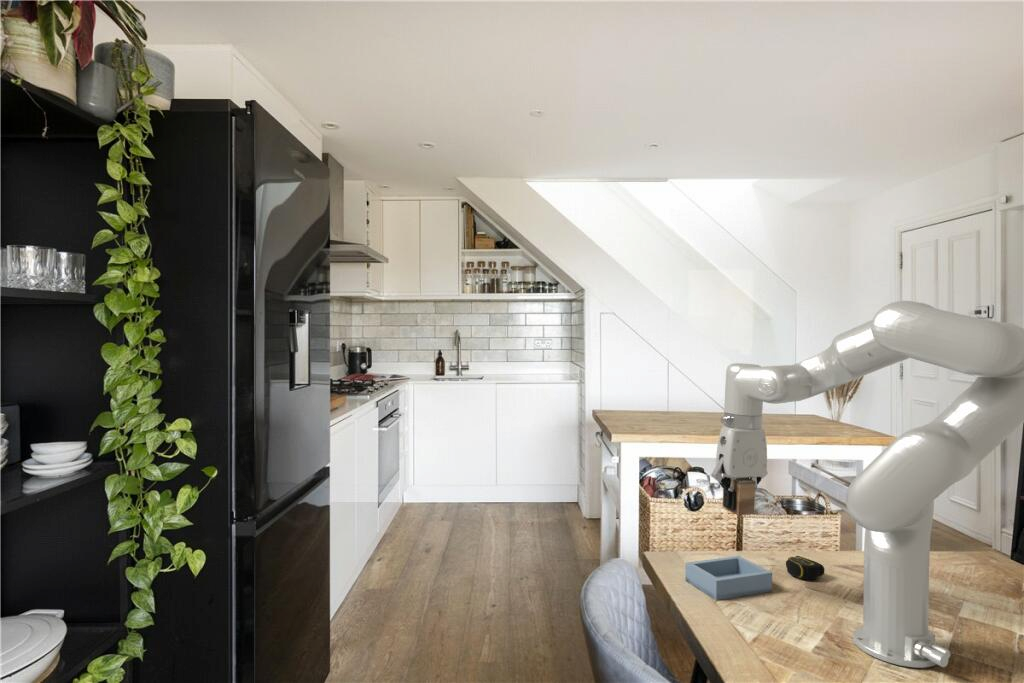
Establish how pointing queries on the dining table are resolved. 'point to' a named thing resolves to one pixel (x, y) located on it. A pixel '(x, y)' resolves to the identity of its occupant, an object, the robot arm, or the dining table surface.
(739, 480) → the wooden rectangular block
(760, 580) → the container
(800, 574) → the tape measure
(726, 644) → the dining table surface
